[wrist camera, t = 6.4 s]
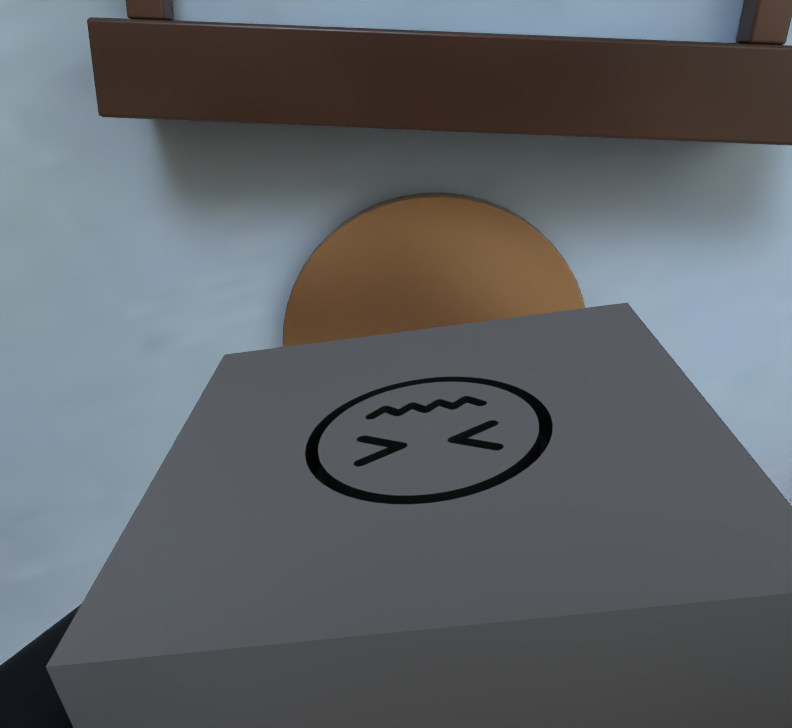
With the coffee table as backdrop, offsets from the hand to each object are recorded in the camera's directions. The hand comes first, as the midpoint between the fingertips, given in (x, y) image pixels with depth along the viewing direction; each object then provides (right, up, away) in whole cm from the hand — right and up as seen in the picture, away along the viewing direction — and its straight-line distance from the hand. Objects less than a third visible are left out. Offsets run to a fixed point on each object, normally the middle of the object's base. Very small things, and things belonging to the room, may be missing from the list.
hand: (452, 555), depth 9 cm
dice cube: (0, +1, +1) cm, 1 cm away
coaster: (0, +3, +11) cm, 11 cm away
